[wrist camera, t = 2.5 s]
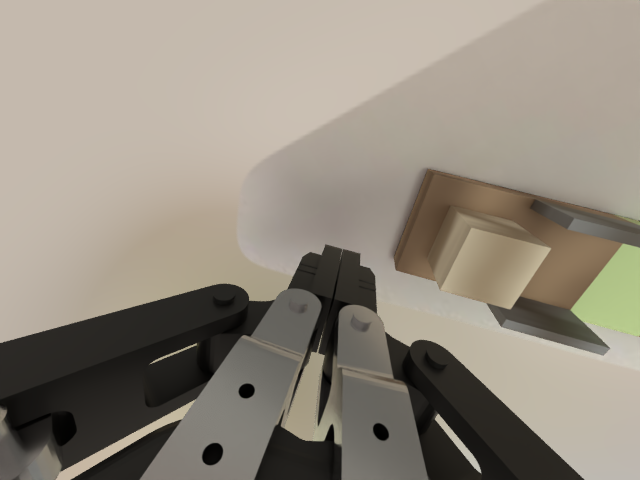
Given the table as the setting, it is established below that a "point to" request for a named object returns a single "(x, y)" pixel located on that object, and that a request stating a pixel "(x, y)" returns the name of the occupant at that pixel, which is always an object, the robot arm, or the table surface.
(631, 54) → the table surface
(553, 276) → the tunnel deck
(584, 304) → the pad
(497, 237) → the block
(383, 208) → the table surface
